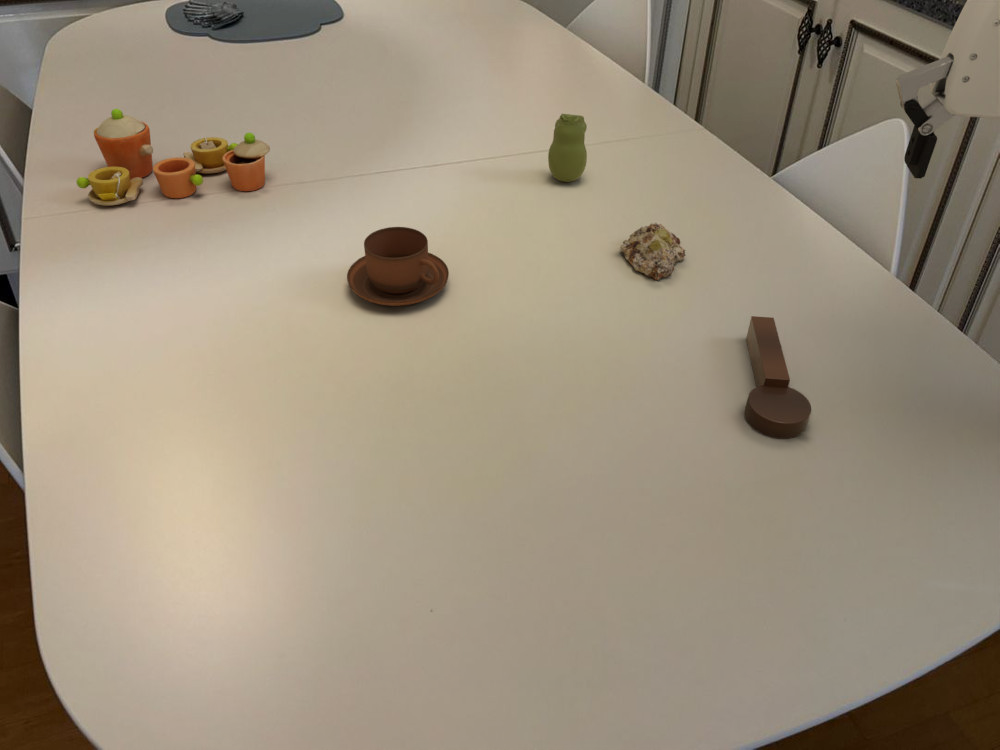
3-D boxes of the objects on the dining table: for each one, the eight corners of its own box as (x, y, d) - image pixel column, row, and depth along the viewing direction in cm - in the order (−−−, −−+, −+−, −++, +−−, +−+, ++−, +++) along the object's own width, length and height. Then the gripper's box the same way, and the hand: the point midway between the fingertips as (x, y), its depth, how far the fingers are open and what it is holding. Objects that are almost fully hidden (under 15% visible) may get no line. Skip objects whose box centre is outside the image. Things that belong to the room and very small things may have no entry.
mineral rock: (617, 220, 111) (679, 208, 109) (622, 249, 114) (683, 237, 112) (619, 265, 103) (686, 253, 101) (625, 295, 106) (690, 283, 104)
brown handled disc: (811, 441, 82) (819, 417, 80) (748, 436, 82) (754, 412, 80) (784, 340, 95) (790, 318, 93) (729, 337, 95) (734, 314, 93)
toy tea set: (79, 213, 116) (57, 146, 110) (94, 166, 128) (75, 102, 122) (276, 195, 121) (265, 129, 115) (272, 151, 133) (262, 89, 127)
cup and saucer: (461, 269, 106) (461, 225, 102) (429, 322, 97) (427, 276, 93) (371, 255, 108) (367, 211, 104) (331, 305, 99) (326, 259, 95)
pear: (544, 185, 125) (547, 118, 118) (551, 170, 129) (554, 105, 122) (582, 189, 124) (587, 123, 117) (587, 174, 128) (593, 109, 121)
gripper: (1139, -36, 69) (1052, 163, 79) (919, -45, 70) (861, 153, 81) (1189, -12, 63) (1087, 199, 74) (947, -22, 64) (881, 188, 75)
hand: (969, 175), depth 77 cm, fingers open, 9 cm apart
